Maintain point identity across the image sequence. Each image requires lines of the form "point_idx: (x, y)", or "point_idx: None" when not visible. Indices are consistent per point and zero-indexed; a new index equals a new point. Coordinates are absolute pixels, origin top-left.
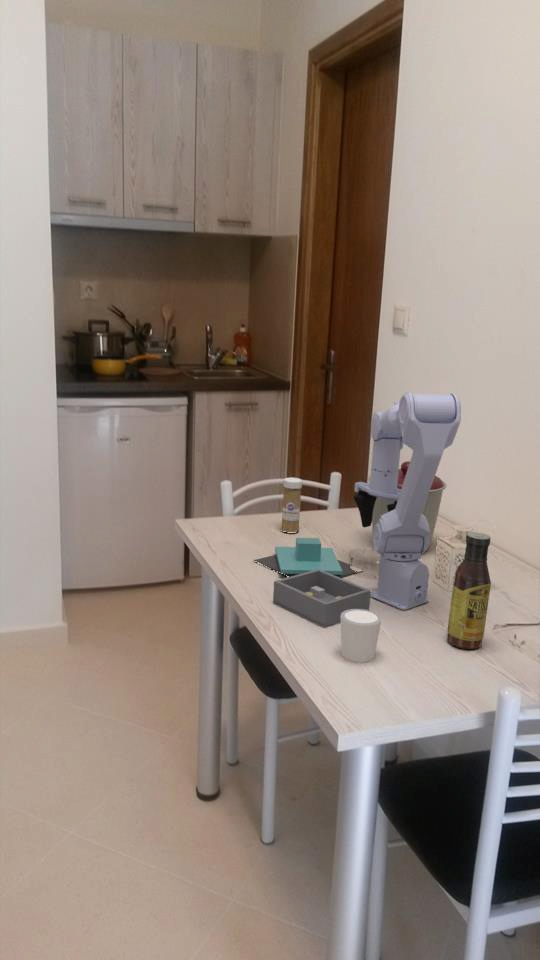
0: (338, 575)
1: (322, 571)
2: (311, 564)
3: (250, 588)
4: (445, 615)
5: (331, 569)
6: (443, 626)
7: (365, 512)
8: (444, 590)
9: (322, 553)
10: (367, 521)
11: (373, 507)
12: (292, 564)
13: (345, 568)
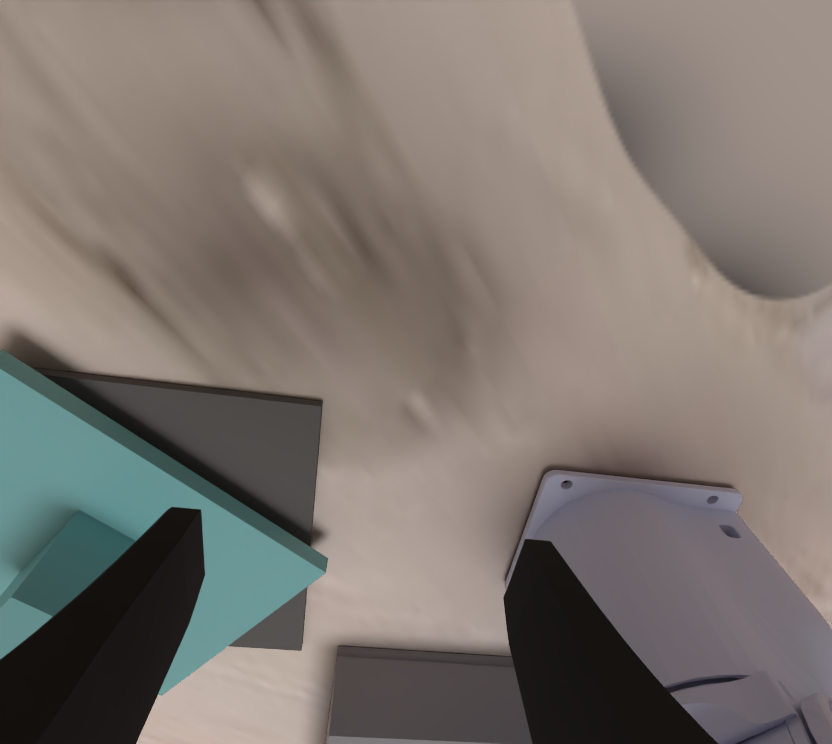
0: (298, 534)
1: (358, 741)
2: None
3: (194, 738)
4: (821, 537)
5: (279, 588)
6: (824, 600)
7: (123, 733)
8: (779, 324)
9: (62, 473)
10: (181, 597)
11: (75, 697)
12: None
13: (250, 452)
